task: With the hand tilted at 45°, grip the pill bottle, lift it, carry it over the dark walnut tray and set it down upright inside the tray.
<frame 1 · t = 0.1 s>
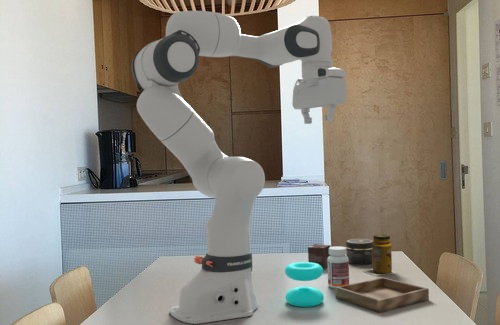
hand: (318, 122, 151), 48 cm above the table, tool pointing down, fingers open, 8 cm apart
tray: (381, 299, 140), on the table
box: (320, 267, 180), on the table
donuts: (304, 303, 139), on the table
condiment: (379, 273, 170), on the table
pill bottle: (338, 286, 154), on the table
jar: (360, 262, 186), on the table
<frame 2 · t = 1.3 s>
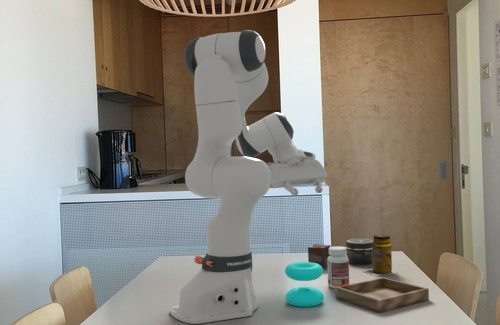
hand: (308, 193, 166), 27 cm above the table, tool tilted 45°, fingers open, 8 cm apart
nothing on the table moved.
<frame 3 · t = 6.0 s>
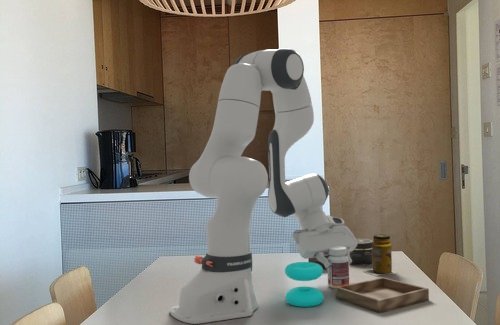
hand: (339, 264, 154), 6 cm above the table, tool tilted 45°, fingers closed on pill bottle, 6 cm apart
pill bottle: (338, 286, 154), on the table, touching gripper
everything else where it was.
when the fingers open (8 cm above the table, at t = 12.1 s): pill bottle drops 1 cm, resting on tray.
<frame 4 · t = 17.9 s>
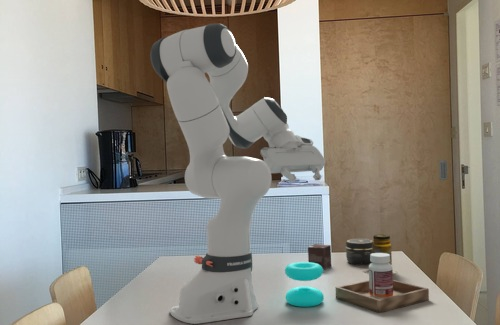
hand: (306, 179, 156), 31 cm above the table, tool tilted 45°, fingers open, 8 cm apart
pill bottle: (381, 297, 140), resting on tray
everything else where it was.
at the end: pill bottle inside the target area on the tray (0.1 cm from its centre), point 0.4 cm above the tray's base; pill bottle tilted 0°; the gripper is holding nothing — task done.
